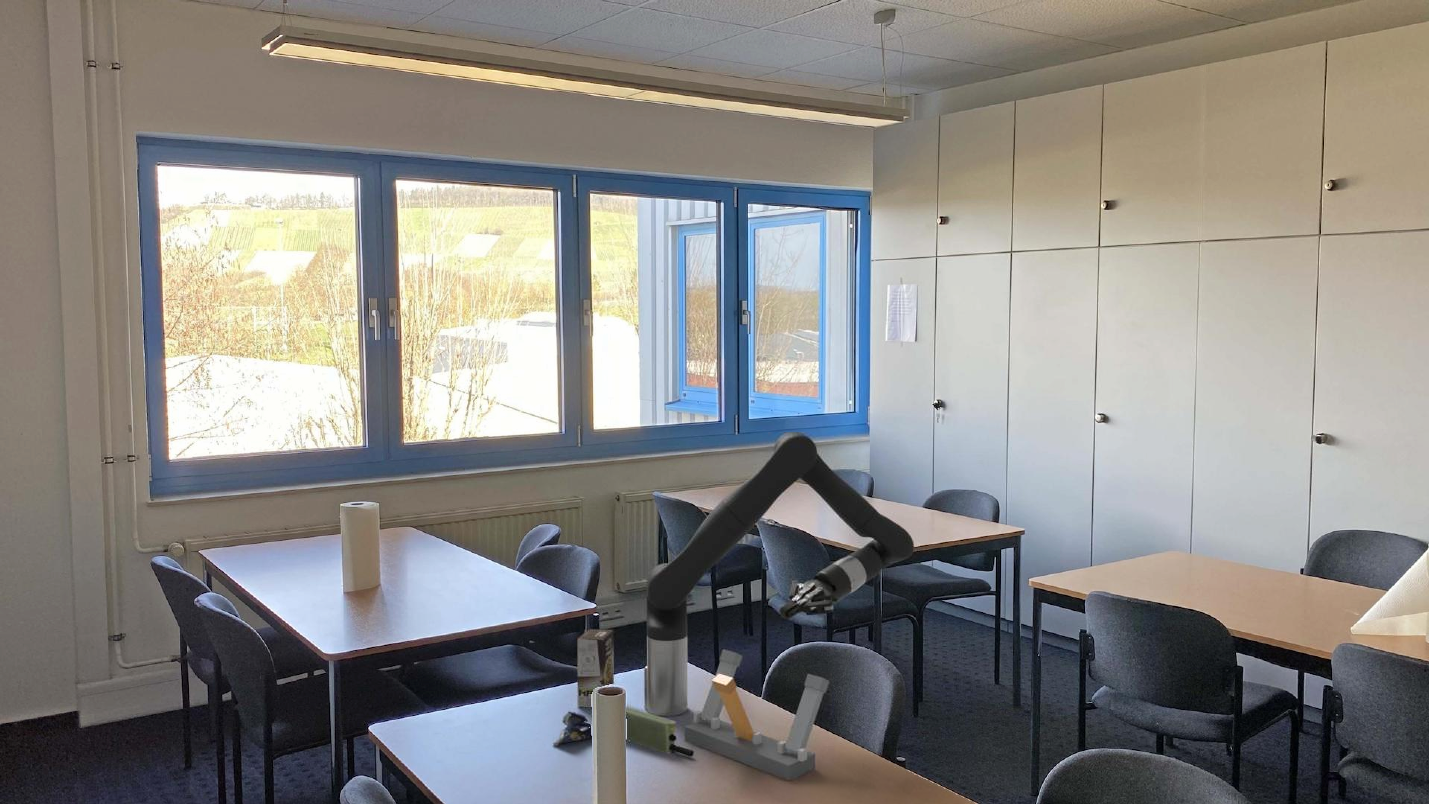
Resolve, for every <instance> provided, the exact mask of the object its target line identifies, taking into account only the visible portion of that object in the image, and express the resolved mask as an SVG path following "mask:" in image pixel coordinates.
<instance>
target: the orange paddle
mask: <svg viewBox="0 0 1429 804" xmlns="http://www.w3.org/2000/svg"><path fill="white" fill-rule="evenodd" d="M711 682H712V683H713V685H714V687H715V689H716V690H718V692H719V694H720V696H721V699H722V701H723V706H724V708H725V710H726V713H727V715H728V718H729V720H730V722H731V724H732V725H733V727H734V730H735V732H736V734H737V737H740V738H743V739H746V740H748V741H751V740H752V739H753V734H754V729H753V728H752V725H751V723H750V721H749V720H750V719H749V718H748V715H747V712H746V711H745V708H744V705H743V704H742V701H741V698H740V696H739V694H738V691H737V689H738V687H737V683H736V681H735V679H734V677H733V678H732V677H728V676H725V675H722V674H718V675H717V676H716V677H715V676H714V678H712V679H711Z"/></svg>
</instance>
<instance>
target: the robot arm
mask: <svg viewBox="0 0 1429 804" xmlns="http://www.w3.org/2000/svg"><path fill="white" fill-rule="evenodd" d="M799 479H801V480H802V481H803V482H804V483H805V484H807V485H808V486H809V487H810V488H811V489H812V490H813V491H814V492H816V494H818V495H819V496H820V497H821V499H822V500H823V501H824V502H825V503H826V504H827V506H829V507H830V508H831V510H832V511H833V512H834V513H835V514H836V515H837V516H838V517H839V518H840V519H841V520H842V521H843V522H844V523H845V524H846V525H847V526H848V527H849V528H850V529H851V530H852V531H853V532H855V533H856V534H857V535H858V536H859V537H861V538H871V541H869V542H868V543H867V544H865V545H864V546H863V547H861V548H859V549H857V550H855V551H854V552H852V553H850V554H849V555H847V556H844V557H843V558H840V559H838V560H837V561H835V562H834V563H831V564H830V565H828V566H827V567H825V568H823V569H821V570H820V571H818V572H817V573H816V574H815V576H814V577H813V578H812V579H811V580H807V581H805V582H804V583H799V582H798V580H796V579H795V580H793V581H792V582H791V585H790V590H789V593H788V602H787V603H786V604H784V605H782V606H781V607H780V609H779V613H780V615H779V616H780V617H781V618H782V619H784V620H789V619H791V618H793V617H794V616H797V615H798V614H803V613H805V616H813V615H823V614H831V613H834V604H836V603H838V602H839V601H841V600H843V599H844V598H846V597H847V596H849V595H850V594H852V593H853V592H856V591H857V590H858V589H859V588H860V587H862V586H863V585H864V584H865V583H867V582H868V581H870V580H872V579H874V578H875V577H876V576H878V575H879V574H880V573H881V571H882V570H883V569H885V568H887V567H889V566H891V565H893V564H895V563H898V562H901V561H903V560H906V559H909V558H910V557H911V555H913V553H914V551H915V550H914V549H915V544H914V540H913V538H912V536H911V535H910V533H909V532H908V531H907V530H906V529H905V528H904V527H902V526H901V525H900V524H899V523H896V522H894V520H891V519H890V518H888V517H886V516H885V515H884V514H882V513H880V512H878V510H877V509H875V507H874V506H873V505H871V504H870V502H869V501H868V500H867V499H866V498H864V497H863V496H862V495H861V494H860V493H859V492H858V491H857V490H856V489H854V488H853V487H852V486H851V485H849V484H848V483H847V482H846V481H845V480H843V478H841V477H840V476H839V475H838V473H835V472H834V471H833V470H832V469H831V468H830V466H829V465H827V463H826V462H825V461H824V460H823V458H821V456H820V455H819V453H818V449H817V445H816V444H815V442H814V441H813V440H812V439H811V438H810V437H809V436H807V435H806V434H803V433H801V432H798V431H789V432H787V433H784V434H782V435H781V436H780V437H778V438H777V440H776V442H775V444H774V448H773V454H772V455H771V456H770V457H769V459H768V460H767V461H766V462H765V463H764V465H763V466H762V467H761V468H760V469H759V470H758V471H757V472H755V474H754V475H753V476H751V477H750V478H749V479H747V480H746V481H745V482H743V483H741V484H740V485H739V486H738V487H736V488H735V489H733V490H732V491H731V492H730V493H729V494H727V495H726V496H725V497H724V498H722V500H721V501H720V502H719V503H718V504H717V505H716V506H715V507H714V509H712V511H710V513H709V514H708V515H707V516H706V517H705V519H704V520H703V521H702V523H701V524H700V526H698V529H697V530H696V531H695V533H694V534H693V536H692V538H691V539H690V541H689V542H688V543H687V545H686V546H685V547H684V548H683V549H682V550H681V552H680V553H679V554H678V555H676V556H675V557H674V558H673V559H672V560H671V561H669V562H668V563H667V562H665V563H660V564H658V565H657V566H655V567H653V569H652V570H651V571H650V572H649V574H648V576H647V580H646V652H647V653H646V666H644V669H643V670H644V673H643V675H644V677H643V679H644V681H643V682H644V690H643V691H644V695H643V696H644V708H645V709H647V710H646V711H647V713H649V714H652V715H656V716H659V717H673V716H678V715H682V714H684V713H686V712H687V711H688V709H689V708H688V613H687V612H688V607H687V606H688V601H687V600H688V596H689V594H690V593H691V592H692V591H693V590H694V588H695V587H696V586H697V584H698V583H699V582H700V581H701V580H702V578H703V577H704V576H705V575H706V574H707V572H708V571H709V570H710V569H711V568H712V567H713V566H715V565H716V564H717V563H718V562H719V561H720V560H721V559H723V557H725V555H727V554H728V553H729V552H730V551H731V550H732V549H733V548H734V547H735V546H736V545H737V544H738V543H739V542H740V541H741V540H742V539H744V538H745V537H746V535H747V534H748V533H749V532H750V531H751V530H752V529H753V527H754V526H756V524H757V523H758V522H759V521H760V520H761V519H762V517H764V515H766V513H767V512H768V510H770V508H771V507H772V505H773V504H774V503H775V502H776V501H777V499H778V498H779V497H780V496H781V495H782V494H783V493H785V491H786V490H787V489H789V488H790V487H791V486H792V485H793V484H795V483H796V482H797V481H798V480H799Z"/></svg>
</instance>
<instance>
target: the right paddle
mask: <svg viewBox="0 0 1429 804" xmlns="http://www.w3.org/2000/svg"><path fill="white" fill-rule="evenodd" d="M805 678H806V679H805V681H804V684H803V685H804V690H803V692H802V696H801V699H800V701H799V705H798V707H797V710H796V713H795V716H794V719H793V721H792V724H791V728H790V731H789V733H788V737H787V740H786V741H785V742H786V745H785V748H787V749H789V750H792V751H795V752H797V753H798V750H799V749H802V748H805V749H807V748H806V747H807V744H808V741H809V738H810V735H811V732H812V730H813V726H814V724H815V720H816V718H817V715H818V712H819V708H820V706H821V702H822V699H823V697H824V694H826V692H827V689H828V687H829V683H830V680H828V679H826V678H824V677H821V676H818V675H816V674H810V673H807V675H806V677H805Z"/></svg>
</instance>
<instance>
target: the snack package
mask: <svg viewBox="0 0 1429 804" xmlns="http://www.w3.org/2000/svg"><path fill="white" fill-rule="evenodd" d="M561 723H562V724H564V725H565V726H566V727H564V729H562V730H561V731H560V734H559V736H558V738H557V739H556V741H554V742H553V745H554V746H555V747H557V746H559V745H560V744H563V743H569V742H570V743H571V742H574V741H582V740H587V739H588V738H589V739H590V738H591V737H592V736H591V723H589V722H588V719H587V718H586V716H585V715H583V714H581V713H578V712H575V711H574V712H571V711H567V713H566V714H565V715H564V716H563V717H562V722H561ZM589 727H590V728H589ZM559 743H560V744H559Z"/></svg>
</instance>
